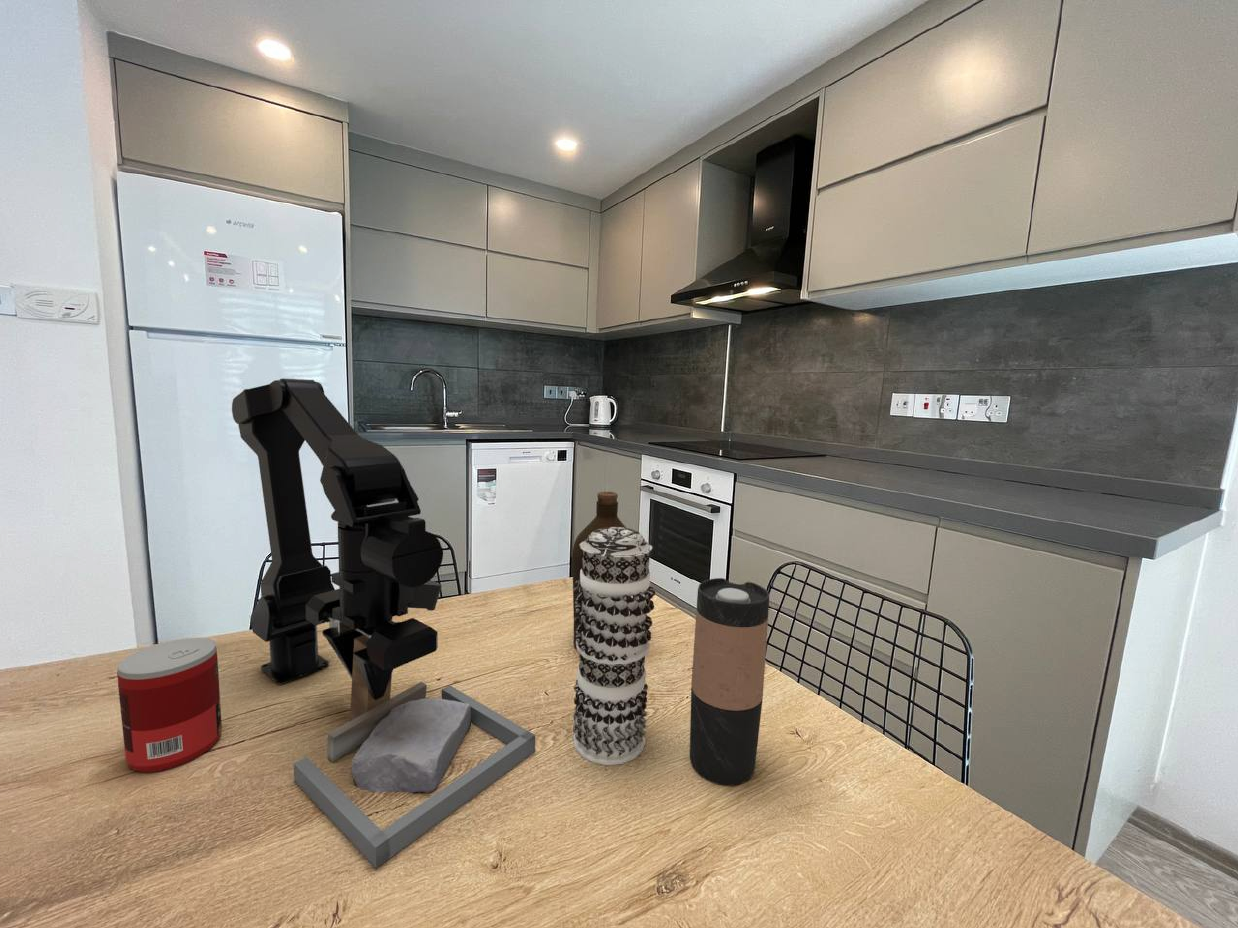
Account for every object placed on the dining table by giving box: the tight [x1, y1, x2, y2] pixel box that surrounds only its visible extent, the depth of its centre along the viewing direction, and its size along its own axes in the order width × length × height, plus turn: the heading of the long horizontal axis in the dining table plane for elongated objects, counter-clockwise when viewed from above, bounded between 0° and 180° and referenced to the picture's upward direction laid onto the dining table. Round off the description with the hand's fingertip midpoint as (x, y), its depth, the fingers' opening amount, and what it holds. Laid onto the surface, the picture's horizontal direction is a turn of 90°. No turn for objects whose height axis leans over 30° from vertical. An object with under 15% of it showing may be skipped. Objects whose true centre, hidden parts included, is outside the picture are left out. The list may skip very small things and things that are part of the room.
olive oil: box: [571, 491, 627, 650], centre depth 81 cm, size 11×11×25 cm
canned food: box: [117, 637, 223, 773], centre depth 55 cm, size 8×8×11 cm
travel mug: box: [689, 577, 770, 786], centre depth 55 cm, size 8×8×20 cm
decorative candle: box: [572, 527, 656, 766], centre depth 58 cm, size 9×9×25 cm
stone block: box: [350, 697, 472, 794], centre depth 56 cm, size 12×5×10 cm
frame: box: [293, 684, 536, 869], centre depth 54 cm, size 16×18×2 cm
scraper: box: [326, 635, 427, 763], centre depth 60 cm, size 4×12×11 cm, turn 150°
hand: (370, 691), depth 60 cm, fingers closed on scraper, 3 cm apart
